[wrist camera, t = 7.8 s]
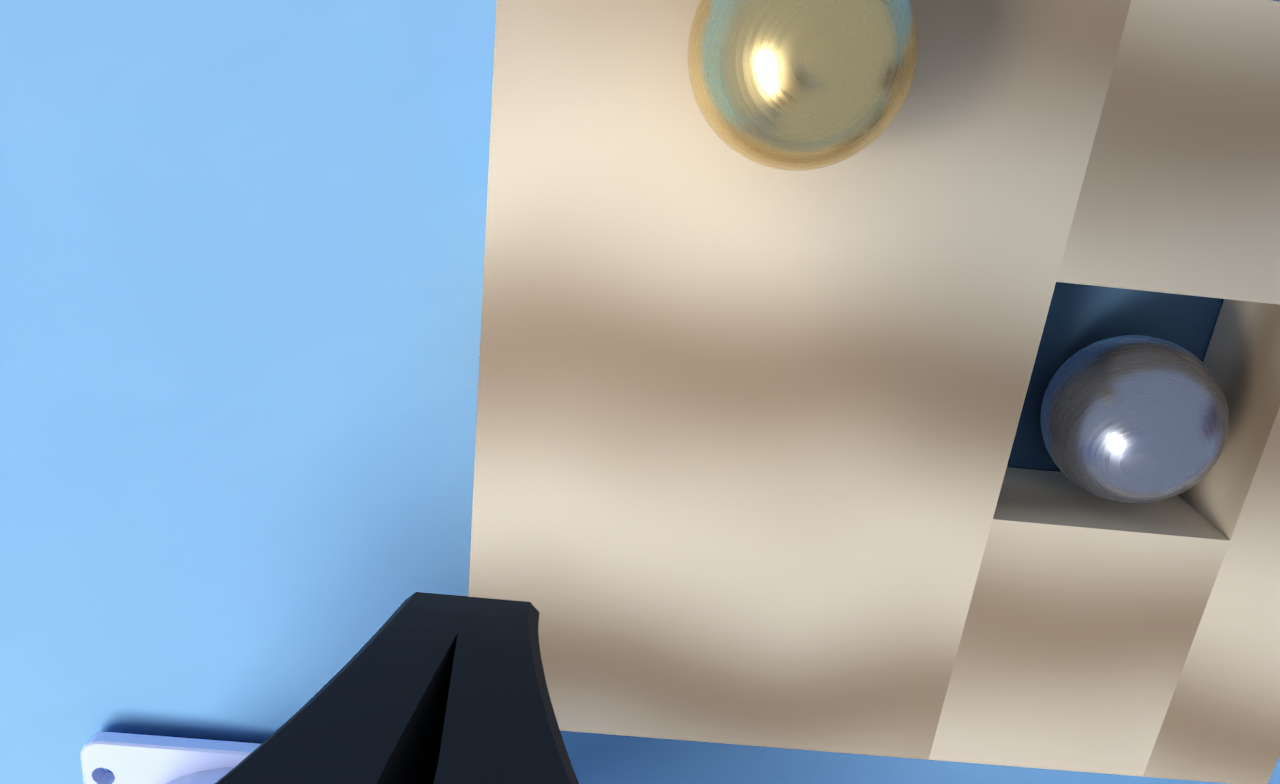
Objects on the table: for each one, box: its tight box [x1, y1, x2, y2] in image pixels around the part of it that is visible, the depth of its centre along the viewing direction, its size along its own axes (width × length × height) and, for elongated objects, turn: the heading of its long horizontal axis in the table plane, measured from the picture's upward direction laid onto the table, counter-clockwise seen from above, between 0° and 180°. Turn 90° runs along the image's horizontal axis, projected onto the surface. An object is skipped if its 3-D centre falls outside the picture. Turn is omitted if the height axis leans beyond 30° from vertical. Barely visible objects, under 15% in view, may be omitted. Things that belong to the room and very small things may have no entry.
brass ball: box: [687, 0, 919, 171], centre depth 14 cm, size 3×3×3 cm
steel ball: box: [1040, 335, 1229, 504], centre depth 19 cm, size 3×3×3 cm
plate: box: [468, 0, 1280, 784], centre depth 19 cm, size 15×17×2 cm
